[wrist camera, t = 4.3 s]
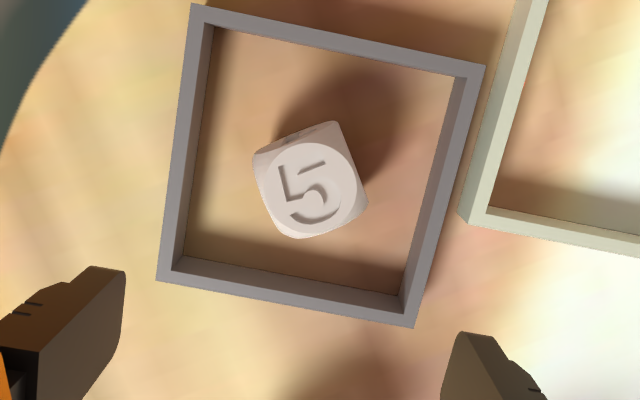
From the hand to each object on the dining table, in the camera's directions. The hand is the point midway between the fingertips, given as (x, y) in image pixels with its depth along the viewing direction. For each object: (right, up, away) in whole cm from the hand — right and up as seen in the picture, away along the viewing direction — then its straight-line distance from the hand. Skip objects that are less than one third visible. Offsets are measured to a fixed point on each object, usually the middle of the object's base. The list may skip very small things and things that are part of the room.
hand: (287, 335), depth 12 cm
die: (0, +5, +18) cm, 19 cm away
